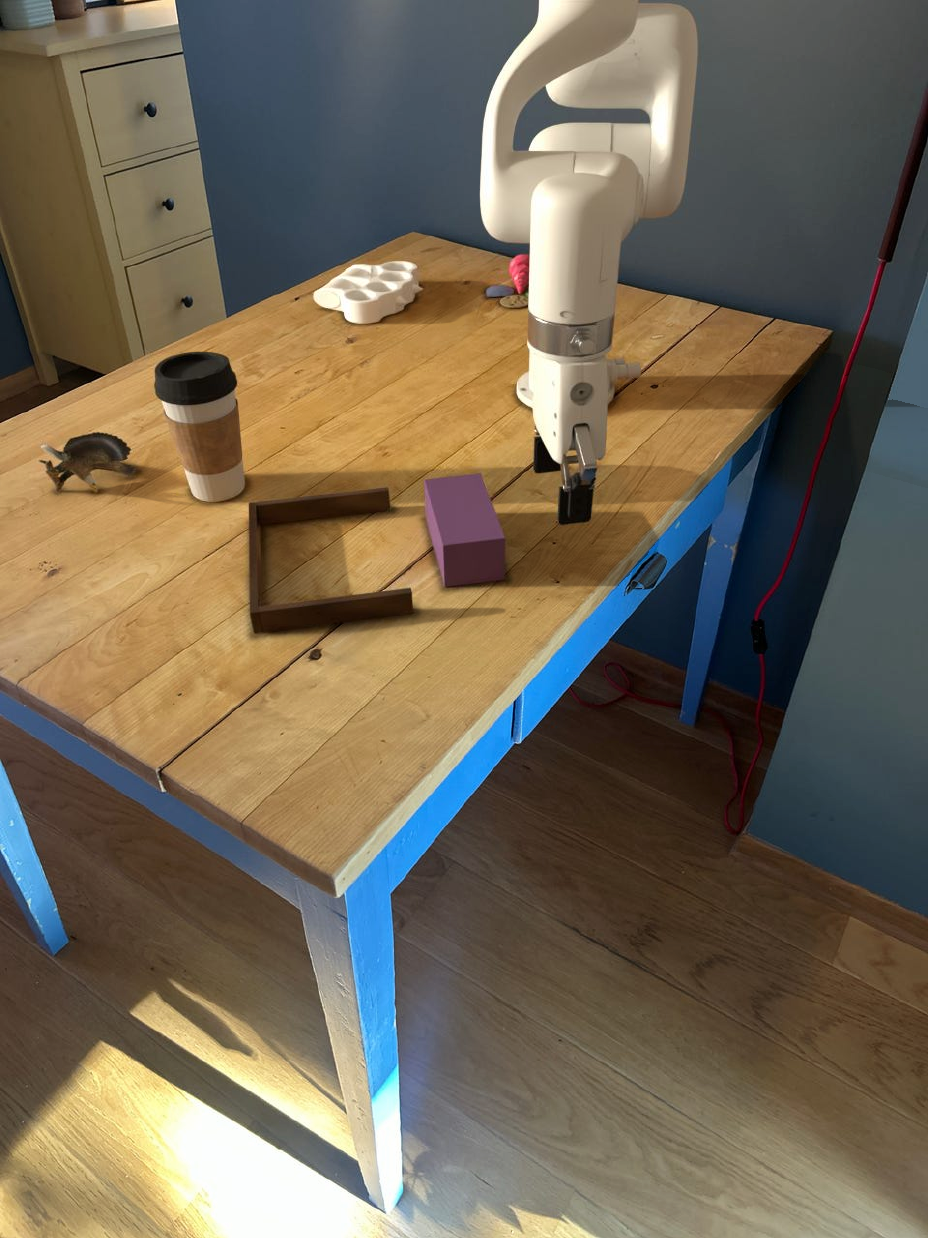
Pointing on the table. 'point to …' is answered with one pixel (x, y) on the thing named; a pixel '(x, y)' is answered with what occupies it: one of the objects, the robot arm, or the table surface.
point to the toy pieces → (520, 279)
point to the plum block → (464, 530)
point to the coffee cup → (203, 421)
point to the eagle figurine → (88, 458)
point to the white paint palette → (370, 291)
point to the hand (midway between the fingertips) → (560, 495)
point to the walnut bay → (327, 607)
